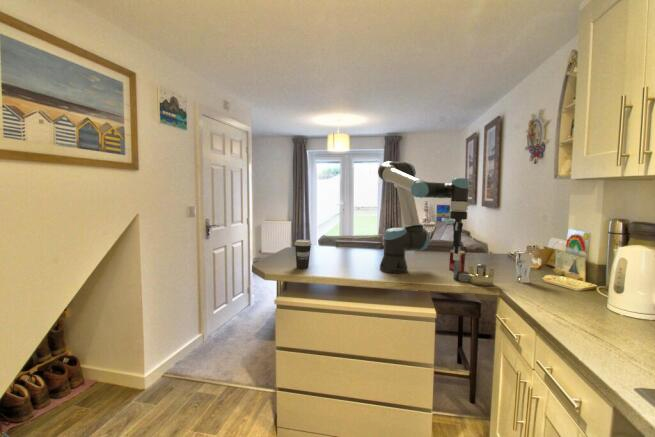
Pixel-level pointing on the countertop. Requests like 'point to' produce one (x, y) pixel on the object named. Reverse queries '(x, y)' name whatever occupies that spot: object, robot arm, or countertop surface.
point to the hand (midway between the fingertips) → (456, 259)
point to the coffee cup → (302, 253)
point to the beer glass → (523, 266)
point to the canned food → (451, 264)
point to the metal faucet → (474, 274)
